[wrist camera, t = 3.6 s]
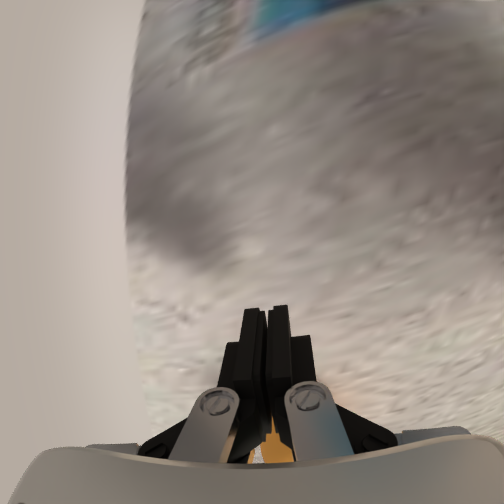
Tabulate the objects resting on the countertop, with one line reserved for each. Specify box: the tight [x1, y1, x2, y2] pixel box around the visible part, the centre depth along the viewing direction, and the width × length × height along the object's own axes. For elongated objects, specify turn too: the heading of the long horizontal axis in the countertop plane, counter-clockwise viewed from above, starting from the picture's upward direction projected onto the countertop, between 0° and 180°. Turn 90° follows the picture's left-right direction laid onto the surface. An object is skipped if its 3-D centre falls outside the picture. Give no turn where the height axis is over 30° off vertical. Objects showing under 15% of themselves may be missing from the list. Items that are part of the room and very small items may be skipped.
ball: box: [260, 417, 293, 463], centre depth 17 cm, size 6×6×6 cm
